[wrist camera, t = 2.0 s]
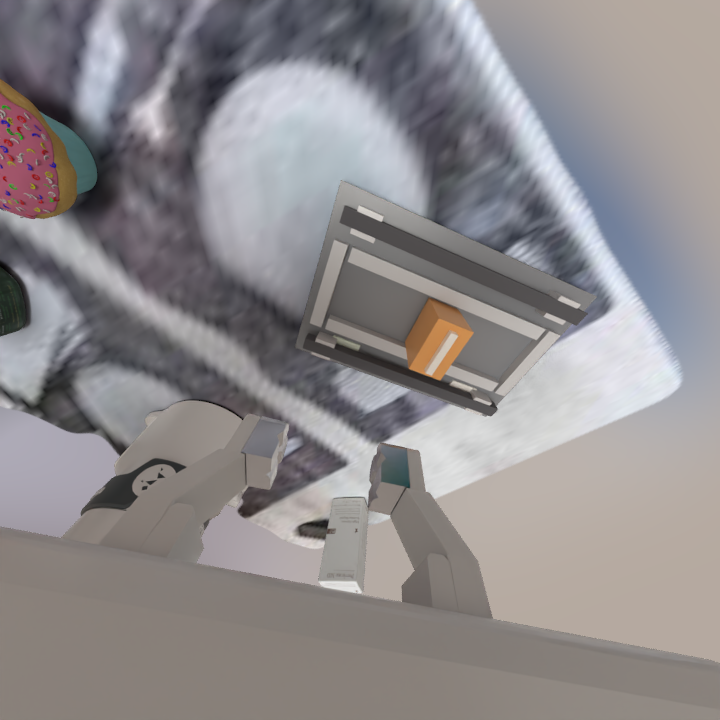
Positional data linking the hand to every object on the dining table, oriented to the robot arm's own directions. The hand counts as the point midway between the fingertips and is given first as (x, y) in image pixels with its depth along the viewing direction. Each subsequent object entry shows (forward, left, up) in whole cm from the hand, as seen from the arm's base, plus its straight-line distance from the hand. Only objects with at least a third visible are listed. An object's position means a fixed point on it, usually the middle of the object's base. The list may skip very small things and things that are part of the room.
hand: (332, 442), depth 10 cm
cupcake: (+1, +28, -19) cm, 34 cm away
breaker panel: (0, -7, -19) cm, 20 cm away
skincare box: (-38, -12, -19) cm, 44 cm away
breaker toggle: (0, -7, -17) cm, 18 cm away
